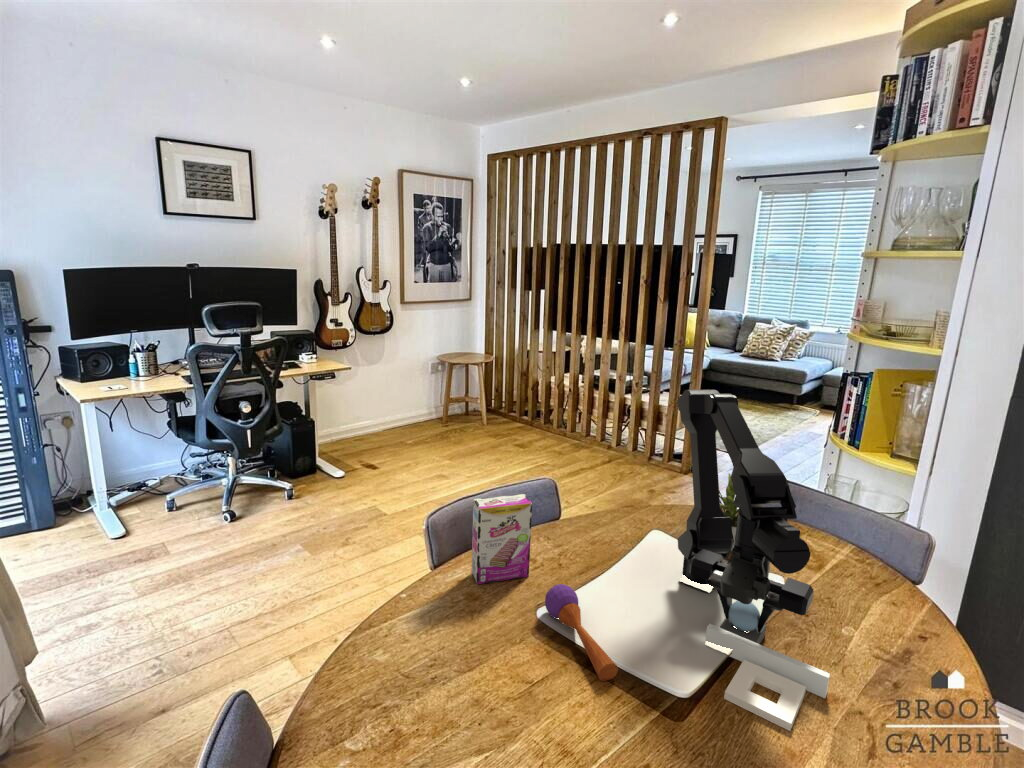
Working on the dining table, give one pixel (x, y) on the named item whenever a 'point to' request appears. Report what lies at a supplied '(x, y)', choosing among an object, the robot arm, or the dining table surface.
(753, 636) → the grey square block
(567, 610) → the kendama
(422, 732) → the dining table surface
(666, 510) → the dining table surface
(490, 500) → the candy bar box
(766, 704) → the white rectangular frame
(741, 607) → the ball
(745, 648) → the divider wall
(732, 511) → the house plant
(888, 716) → the dining table surface
